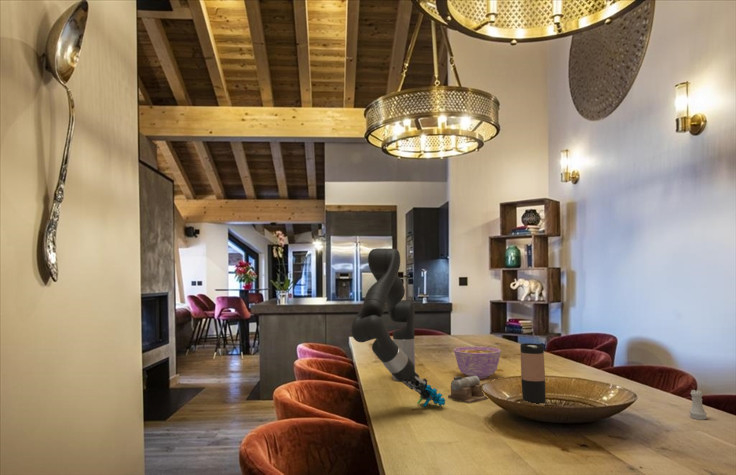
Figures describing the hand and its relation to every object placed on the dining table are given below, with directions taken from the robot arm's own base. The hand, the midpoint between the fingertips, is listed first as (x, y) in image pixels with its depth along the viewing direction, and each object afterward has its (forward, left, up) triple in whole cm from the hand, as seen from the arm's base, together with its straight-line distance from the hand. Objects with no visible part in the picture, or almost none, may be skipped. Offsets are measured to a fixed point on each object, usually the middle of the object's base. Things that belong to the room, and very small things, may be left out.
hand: (426, 396), depth 158 cm
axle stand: (0, +19, -4) cm, 20 cm away
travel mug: (+20, +30, -4) cm, 37 cm away
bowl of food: (-22, +50, -4) cm, 55 cm away
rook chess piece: (+59, +56, -4) cm, 82 cm away
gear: (0, +2, -4) cm, 4 cm away
